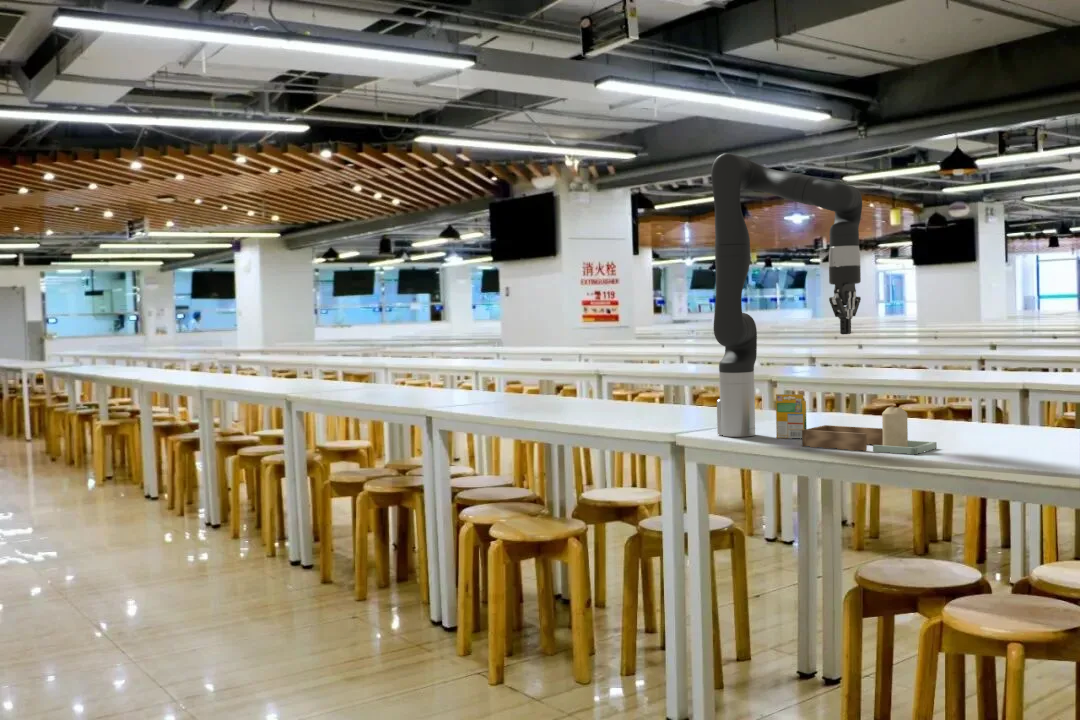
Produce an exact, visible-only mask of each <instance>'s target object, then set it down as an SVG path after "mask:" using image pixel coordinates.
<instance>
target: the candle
mask: <svg viewBox="0 0 1080 720" xmlns="http://www.w3.org/2000/svg"><path fill="white" fill-rule="evenodd" d="M881 417H882V419H881V420H882V428H883V445H885V446H899V447H908V440H909V439H908V438H909V437H908V435H909V433H908V428H909V427H908V412H907V411H905V410H904V409H903V408H902V407H894V406H889V407H887V408H886V409H885V410H883V412H882V413H881Z"/></svg>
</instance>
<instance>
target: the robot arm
mask: <svg viewBox="0 0 1080 720" xmlns="http://www.w3.org/2000/svg"><path fill="white" fill-rule="evenodd" d="M710 172H711V173H710V177H711V186H712V195H713V202H714V203H713V204H714V234H715V236H714V237H715V238H714V239H715V241H714V259H715V261H714V262H715V303H714V304H715V305H714V317H713V334H714V338H715V339H716V341H717V342H718V344H719V345H721V346H723V347H725V348H724V355H723V358H722V359H721V360H720V361H719V363H718V371H719V375H718V376H719V377H718V379H719V399H717V400H716V418H717V419H716V421H717V423H716V426H717V430H716V431H717V435H718V434H719V436H722V435H723V437H732V438H735V437H737V438H740V437H741V438H743V437H751V436H755V435H756V402H755V401H756V400H755V399H756V398H755V397H756V395H755V364H756V361H757V353H758V352H757V351H758V348H757V347H758V335H757V333H758V331H757V325H756V322H755V320H754V318H753V317H752V316H751V315H750V314H748V313H746V312H743V308H742V296H743V288H744V285H745V282H746V279H747V277H748V274H749V269H750V265H751V241H750V239H751V238H750V234H749V233H750V232H749V229H748V227H747V226H748V225H747V224H746V221H745V217H744V215H743V212H742V204H741V191H755V192H756V191H757V192H763V193H768V194H771V195H774V196H776V197H779V198H782V199H785V200H788V201H791V202H795V203H800V204H804V205H807V206H814V207H818V208H821V209H824V210H827V211H830V212H834V221H833V224H832V225H831V226H830V228H829V233H828V234H829V252H828V275H829V276H828V283H829V284H830V285H831V286H832V285H834V289H833V296H829V298H828V299H829V300H828V302H829V303H830V306H831V309H832V311H833V314H834V316H835V318H838V320H839V324H840V325H839V326H840V327H839V329H840V330H839V332H840V334H841V335H851V334H852V319H853V317H856V315H857V312H858V309H859V305H860V303H861V300H862V299H861V296H858V295H857V289H856V285H857V284H858V285H859V284H860V283H861V282H862V281H861V278H862V277H861V273H862V272H861V252H860V233H859V231H860V230H859V229H860V228H859V227H860V222H861V217H862V211H863V198H862V194H861V191H860V190H859V189H858V188H857V187H855V186H854V185H848V184H845V183H840V182H834V181H829V180H825V179H824V180H823V179H821V178H818V177H815V176H811V175H807V174H803V173H796V172H792V171H791V172H790V171H782V170H776V169H773V168H769V167H767V166H764V165H760V164H758V163H757V162H755V161H752V160H750V159H748V158H746V157H745V156H742V155H738V154H735V153H729V152H727V153H726V152H725V153H722V154H720V155H719V156H717V157H716V158H715V159H714V162H713V163H712V165H711V171H710Z"/></svg>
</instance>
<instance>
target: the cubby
mask: <svg viewBox="0 0 1080 720" xmlns="http://www.w3.org/2000/svg"><path fill="white" fill-rule="evenodd" d="M801 444H802V445H801V446H802V447H804V446H810V447H809V448H817V447H823V448H822V449H830V448H837V449H836V450H844V449H848V450H847V451H857V450H863V451H862V452H866V451H865V450H867V449H868V448H867V445H869V444H872V446H873V445H883V427H882V428H881V427H880V428H879V427H877V428H876V427H863V426H861V427H860V426H845V425H829V424H828V425H827V424H824V425H820V426H819V425H818V426H815V427H811V428H807V429H805V430H802V439H801ZM867 451H868V450H867Z"/></svg>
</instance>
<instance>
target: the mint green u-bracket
mask: <svg viewBox="0 0 1080 720" xmlns="http://www.w3.org/2000/svg"><path fill="white" fill-rule="evenodd" d="M935 448H938V447H937V442H936V441H924V440H910V439H908V447H899V446H885V445H872V452H873V451H874V453H884V452H890V453H889V454H897V453H907V454H906V455H910V454H917V455H919V454H918V453H921V452H924V451H927V452H929V451H928V450H930V451H932V450H931V449H934V450H936V449H935ZM924 453H925V452H924ZM921 454H922V453H921Z"/></svg>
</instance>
